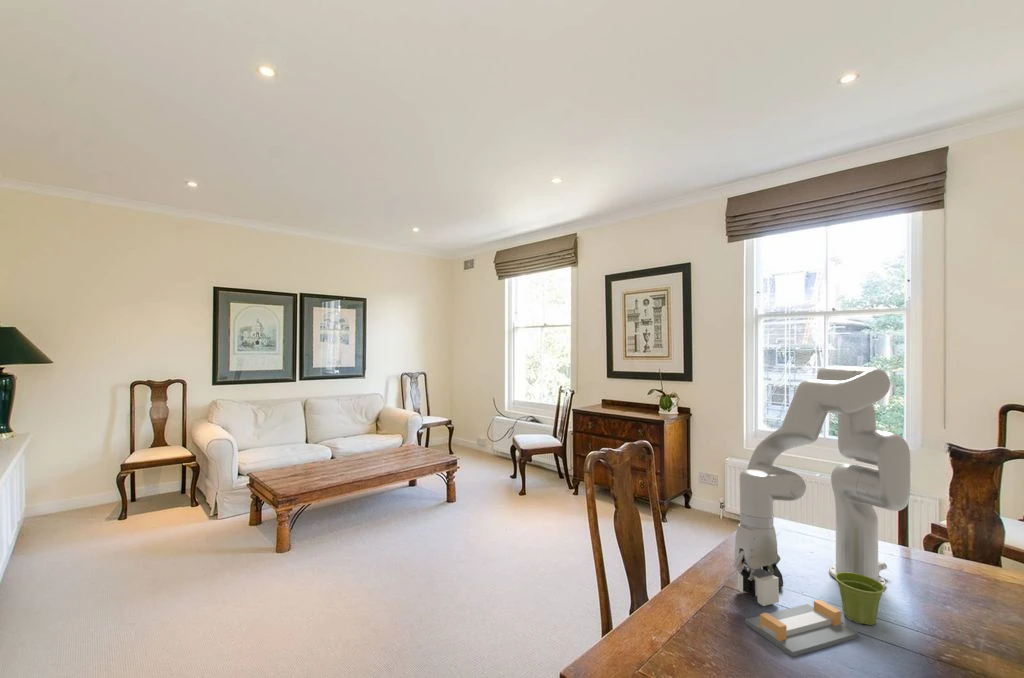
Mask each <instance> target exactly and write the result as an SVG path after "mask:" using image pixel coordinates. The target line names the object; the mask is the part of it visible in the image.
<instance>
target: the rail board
mask: <svg viewBox="0 0 1024 678" xmlns="http://www.w3.org/2000/svg"><path fill="white" fill-rule="evenodd" d="M744 622H745V625H747V626H748V627H750V628H751V629H753V630H754V631H755V632H756V633H758V634H759V635H761V636H762V637H764V638H765V639H767V640H768V641H770V642H771V643H772V644H774V646H777V647H778V648H779V649H781V650H782V651H784V653H787V654H788V655H789V656H791V657H792V658H794V657H797V656H801V655H805V654H807V653H811V652H814V651H818V650H821V649H824V648H828V647H830V646H831V647H832V646H835V645H838V644H841V643H846V642H848V641H852V640H855V639H858V638H859V636H860V633H859V632H858V631H856V630H854V629H852V628H850V627H849V626H847V625H845V624H844V623H842V611H841V610H839V609H838V608H836V607H835V606H833V605H830V604H829V603H827V602H825V601H824V600H821V599H817V600H813V606H811V605H810V604H809V603H808V604H802V605H797V606H794V607H791V608H785V609H781V610H778V611H774V612H773V611H772V612H770V613H768V612H763V613H760V614H759V615H758V616H757V615H756V616H753V617H749V618H745V620H744Z"/></svg>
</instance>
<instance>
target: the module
mask: <svg viewBox="0 0 1024 678" xmlns="http://www.w3.org/2000/svg"><path fill="white" fill-rule="evenodd" d="M736 572H737V573H736V574H737V581H736V582H737V585H736V586H737V591H739V592H741V593H742V594H744V593H746V592H745V591H744V590H743V576H742V575H741V574H740V573H739V571H738V570H736ZM747 572H748V573H749V568H747ZM753 580H755V596H757V603H758V604H760V606H763V607H765V606H769V605H773V604H776V603H777V604H778V603H779V602H780V597H779V596H780V594H779V591H780V590H779V589H780V588H779V578H778V577H776V576H774V575H772V574H771V573H769V572H767V571H765V570H763V569H761V568H755V571H754V576H753Z"/></svg>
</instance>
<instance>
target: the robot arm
mask: <svg viewBox="0 0 1024 678" xmlns="http://www.w3.org/2000/svg"><path fill="white" fill-rule="evenodd" d="M890 389H891V379H890V377H889V375H888V373H886V372H885V370H882V369H881V368H877V367H872V366H871V367H867V366H849V365H829V366H824V367H822V368H820V369H819V370H818V371H817V374H816V379H807V380H804V381H802V382H800V383H799V384H798V386H797V388H796V389H795V393H794V395H793V397H792V399H791V402H790V404H789V406H788V409H787V410H786V411H787V412H786V414H785V417H784V419H783V422H782V424H781V426H780V427H779V428H777V429H776V430H775V431H773V432H772V433H771V434H769V435H767V437H765V438H764V439H763V440H762V441H760V442H759V443H758V445H757V446H756V448H755V449H754V451H753V453H752V455H751V458H750V460H749V462H748V465H747V468H746V469H745V470H742V471H741V472H740V474H739V513H740V514H739V518H740V519H739V521H740V522H739V523H738V525H737V528H736V533H735V540H734V541H735V543H734V560H735V561H734V563H733V565H732V566H733V568H734V569H735V570H736V571H737V570H738V571H739V573H740V574H741V575H742V576H743V590H744V591H745V593H746V594H748V595H750V596H751V597H755V596H756V595H755V580H753V576H754V571H755V568H759V567H761V569H763V570H765V571H767V572H769V573H771V574H772V575H774V569H775V568H776V566H777V565H778V564H779V562H780V561H781V557H780V555H779V554H778V540H777V535H776V534H777V533H776V528H775V525H774V517H775V515H774V502H775V501H781V502H794V501H797V500H799V499H801V498H802V497H803V496H804V495H805V493H806V489H807V486H806V485H807V484H806V482H805V480H804V479H803V477H802V476H800V475H799V474H798V473H796V472H794V471H791V470H788V469H785V468H782V467H779V466H775V465H774V463H775V461H776V459H777V458H779V456H780V455H782V454H783V453H784V452H786V451H788V450H790V449H793V448H798V447H802V446H806V445H811V444H813V443H815V442H817V440H818V438H819V436H820V432H821V430H822V428H823V425H824V423H825V419H826V417H827V415H828V413H829V414H830V413H831V414H836V415H837V447H838V451H839V453H840V455H842V456H843V457H844V458H846V459H849V460H852V461H856V462H859V463H862V464H863V463H864V464H868V465H873V466H876V467H877V469H874V468H872V467H871V468H870V467H867V466H862V465H858V464H854V463H842V464H839V465H837V466H836V467H835V468H834V469H833V470H832V472H831V474H830V475H831V476H830V481H831V487H832V490H833V491H832V492H833V496H834V503H835V564H832V565H830V566H829V567H828V571H829V574H830V576H831V577H833V578H834V579H835V575H836V574H837V573H840V572H851V573H857V574H861V575H864V576H867V577H870V578H872V579H874V580H876V581H878V582H880V583H881V584H882V585H883V586H884V588H885V589H886V586H887V585H886V583H887V582H886V579H885V578H883V577H882V576H881V575H880V572H882V571H884V570H887V569H888V565H887V564H886V563H885V562H884V561H880V562H879V519H878V514H877V513H876V510H875V508H874V507H876V508H880V509H884V510H887V511H892V512H899V511H902V510H904V509H905V508H906V507H908V504H909V501H910V497H911V451H910V450H911V449H910V447H909V445H908V442H907V441H906V440H905V438H903V436H901V435H899V434H898V433H895V432H890V431H888V430H887V431H886V430H880V429H879V430H878V428H877V422H876V421H877V420H876V410H875V407H874V405H873V404H876V403H877V402H879V401H881V400H882V399H883V398H885V396H887V394H888V393H889V391H890ZM873 506H874V507H873ZM747 568H749V573H748V572H747Z"/></svg>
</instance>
